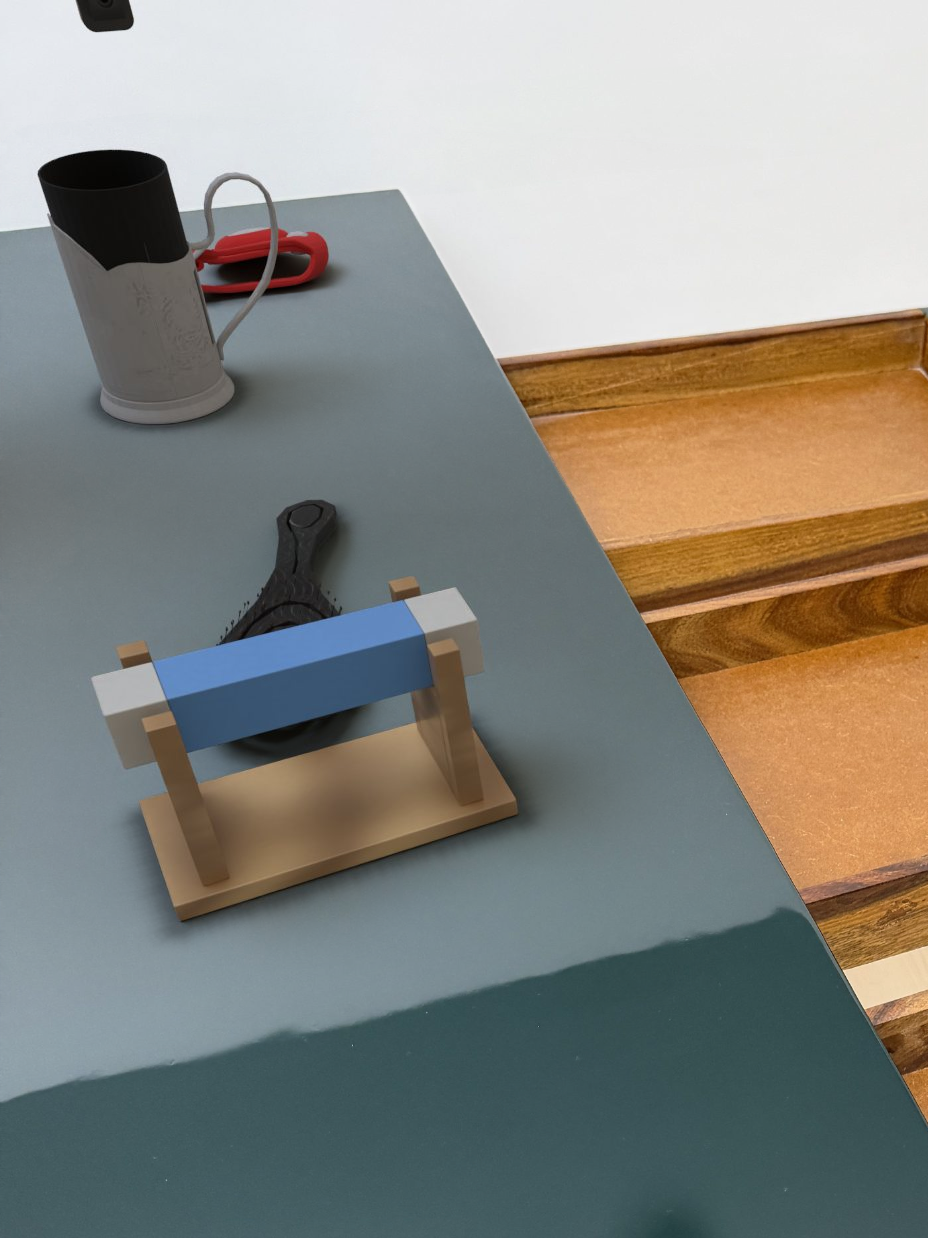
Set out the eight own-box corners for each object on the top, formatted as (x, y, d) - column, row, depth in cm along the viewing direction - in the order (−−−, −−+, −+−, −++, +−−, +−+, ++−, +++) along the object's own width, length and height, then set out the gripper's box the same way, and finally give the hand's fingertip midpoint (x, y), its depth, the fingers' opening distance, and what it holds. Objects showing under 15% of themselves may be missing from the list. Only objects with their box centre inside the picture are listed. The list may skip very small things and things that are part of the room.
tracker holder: (225, 231, 117) (335, 212, 115) (245, 287, 119) (352, 269, 117) (144, 250, 107) (263, 229, 105) (167, 311, 109) (283, 292, 107)
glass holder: (87, 381, 99) (12, 156, 89) (289, 343, 105) (241, 128, 95) (117, 434, 94) (42, 202, 84) (328, 391, 100) (282, 169, 90)
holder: (179, 922, 63) (112, 751, 56) (143, 815, 68) (77, 646, 61) (518, 814, 70) (495, 649, 63) (464, 723, 74) (436, 561, 68)
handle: (124, 771, 60) (103, 715, 58) (111, 731, 62) (90, 676, 60) (485, 672, 66) (477, 619, 64) (464, 638, 68) (455, 586, 66)
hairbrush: (376, 467, 88) (340, 695, 69) (386, 521, 90) (354, 755, 71) (236, 472, 86) (161, 707, 68) (250, 527, 89) (181, 767, 70)
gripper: (-149, -461, 60) (-11, -24, 71) (-120, -439, 51) (32, 53, 63) (42, -451, 63) (146, -34, 74) (100, -429, 54) (207, 39, 66)
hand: (93, 5), depth 68 cm, fingers open, 8 cm apart
